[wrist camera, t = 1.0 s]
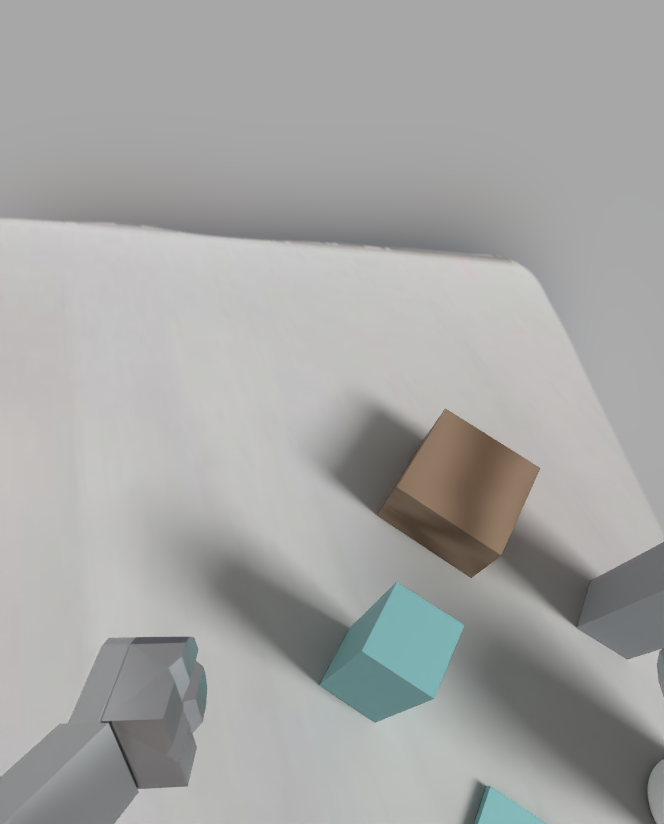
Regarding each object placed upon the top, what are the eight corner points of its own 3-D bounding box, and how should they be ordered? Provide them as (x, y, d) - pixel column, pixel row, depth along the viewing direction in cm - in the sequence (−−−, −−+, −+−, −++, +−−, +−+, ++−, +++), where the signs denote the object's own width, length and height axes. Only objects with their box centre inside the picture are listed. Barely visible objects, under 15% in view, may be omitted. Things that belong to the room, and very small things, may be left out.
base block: (375, 516, 45) (396, 487, 40) (422, 441, 49) (445, 408, 45) (469, 578, 44) (501, 555, 40) (508, 496, 48) (540, 468, 44)
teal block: (319, 685, 37) (361, 651, 29) (349, 628, 40) (396, 582, 31) (375, 722, 37) (433, 698, 29) (402, 662, 39) (464, 625, 31)
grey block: (576, 627, 43) (672, 586, 35) (590, 580, 45) (683, 531, 37) (627, 659, 43) (736, 624, 35) (638, 610, 45) (743, 567, 37)
